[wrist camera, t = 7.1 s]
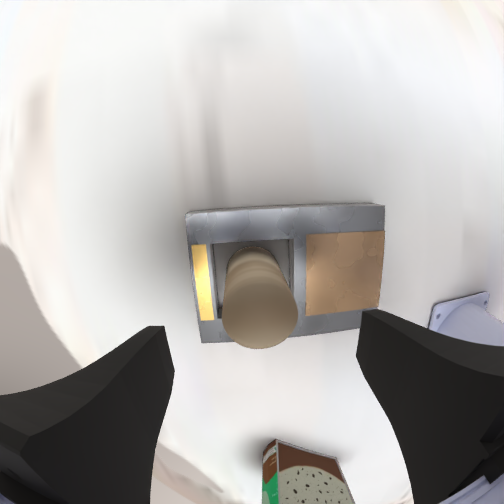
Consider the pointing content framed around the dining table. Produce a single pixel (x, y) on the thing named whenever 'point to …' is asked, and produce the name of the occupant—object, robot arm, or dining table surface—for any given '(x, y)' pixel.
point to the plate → (297, 260)
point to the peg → (257, 300)
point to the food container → (302, 477)
